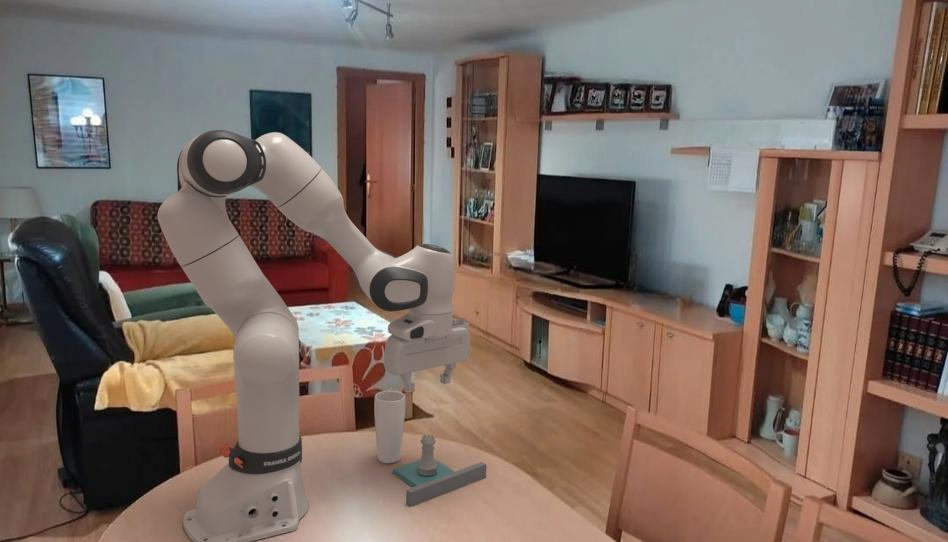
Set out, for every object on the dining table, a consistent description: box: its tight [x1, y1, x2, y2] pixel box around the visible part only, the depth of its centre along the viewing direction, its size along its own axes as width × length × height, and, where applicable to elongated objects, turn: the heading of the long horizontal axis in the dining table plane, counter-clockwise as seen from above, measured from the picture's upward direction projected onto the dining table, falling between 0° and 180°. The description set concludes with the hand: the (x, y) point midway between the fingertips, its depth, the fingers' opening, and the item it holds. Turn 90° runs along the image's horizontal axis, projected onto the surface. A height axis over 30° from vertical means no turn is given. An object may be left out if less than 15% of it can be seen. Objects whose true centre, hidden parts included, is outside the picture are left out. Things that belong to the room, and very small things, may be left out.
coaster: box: [392, 459, 456, 488], centre depth 149 cm, size 10×10×1 cm
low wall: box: [405, 461, 488, 507], centre depth 143 cm, size 20×2×3 cm, turn 131°
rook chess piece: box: [417, 434, 438, 476], centre depth 147 cm, size 4×4×8 cm
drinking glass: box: [373, 390, 406, 464], centre depth 154 cm, size 7×7×15 cm
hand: (427, 387), depth 145 cm, fingers open, 8 cm apart
